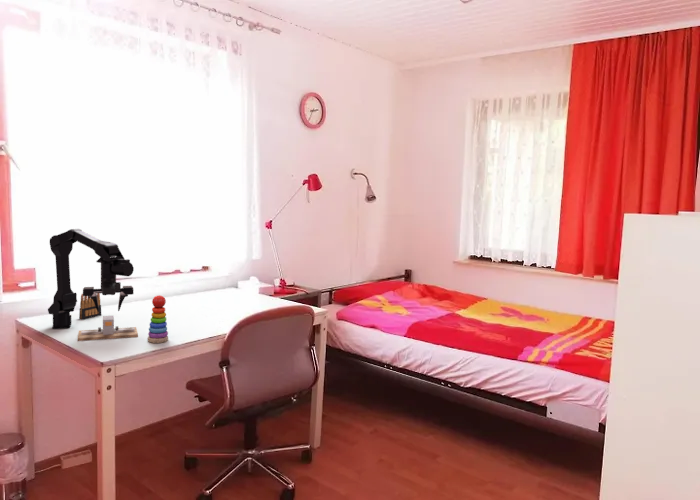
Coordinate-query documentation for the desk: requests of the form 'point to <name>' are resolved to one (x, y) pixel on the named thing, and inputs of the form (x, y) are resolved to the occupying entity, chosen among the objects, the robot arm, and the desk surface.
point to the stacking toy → (158, 321)
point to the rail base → (99, 335)
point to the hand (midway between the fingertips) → (108, 311)
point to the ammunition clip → (89, 307)
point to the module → (108, 325)
